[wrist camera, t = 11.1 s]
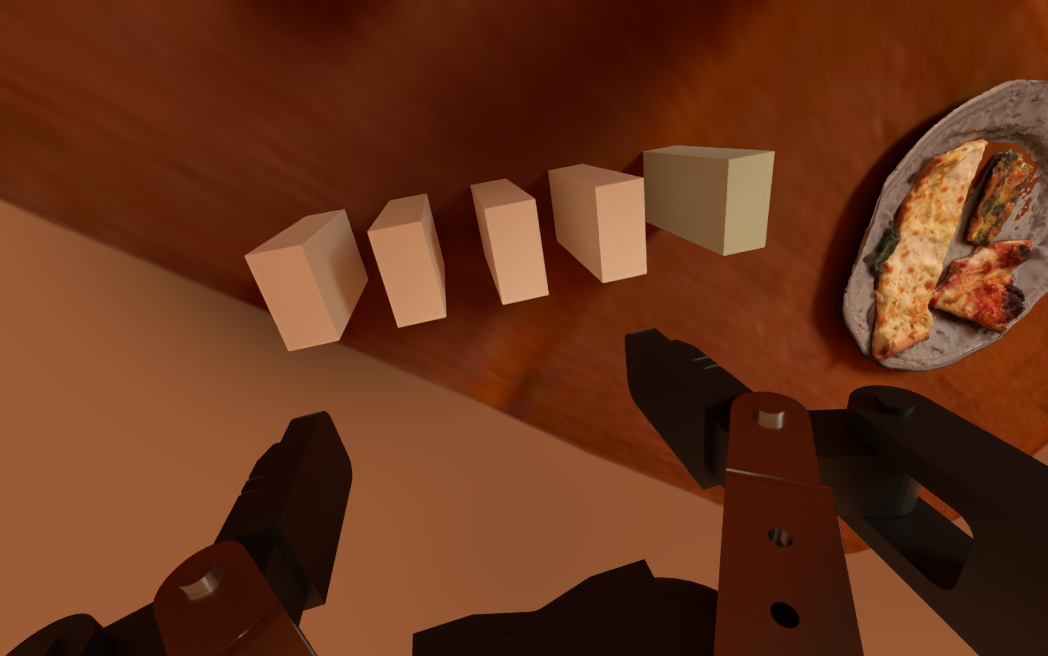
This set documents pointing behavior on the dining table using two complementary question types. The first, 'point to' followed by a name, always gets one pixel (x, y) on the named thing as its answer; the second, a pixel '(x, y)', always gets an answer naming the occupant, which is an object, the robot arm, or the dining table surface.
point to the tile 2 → (410, 260)
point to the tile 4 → (600, 219)
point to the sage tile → (709, 195)
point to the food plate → (955, 237)
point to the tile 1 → (310, 278)
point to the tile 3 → (511, 239)
